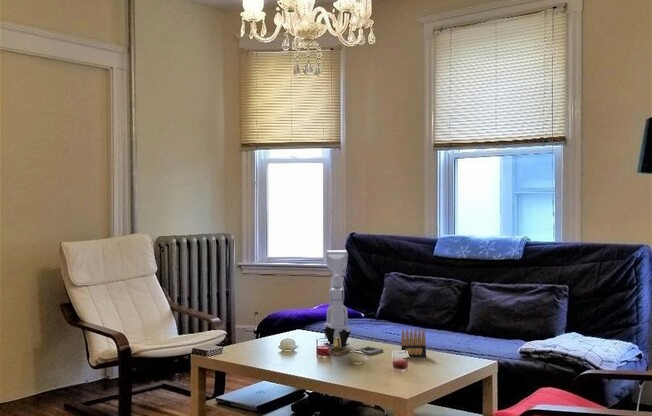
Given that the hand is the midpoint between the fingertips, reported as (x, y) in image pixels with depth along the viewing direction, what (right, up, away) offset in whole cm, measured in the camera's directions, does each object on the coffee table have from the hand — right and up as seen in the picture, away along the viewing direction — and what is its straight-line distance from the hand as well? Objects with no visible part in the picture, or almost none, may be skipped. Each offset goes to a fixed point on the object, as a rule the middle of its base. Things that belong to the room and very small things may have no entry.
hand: (337, 345), depth 291 cm
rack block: (0, -3, 0) cm, 3 cm away
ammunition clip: (+33, -3, -9) cm, 34 cm away
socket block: (+14, -3, 0) cm, 14 cm away
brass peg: (0, -3, 0) cm, 3 cm away
